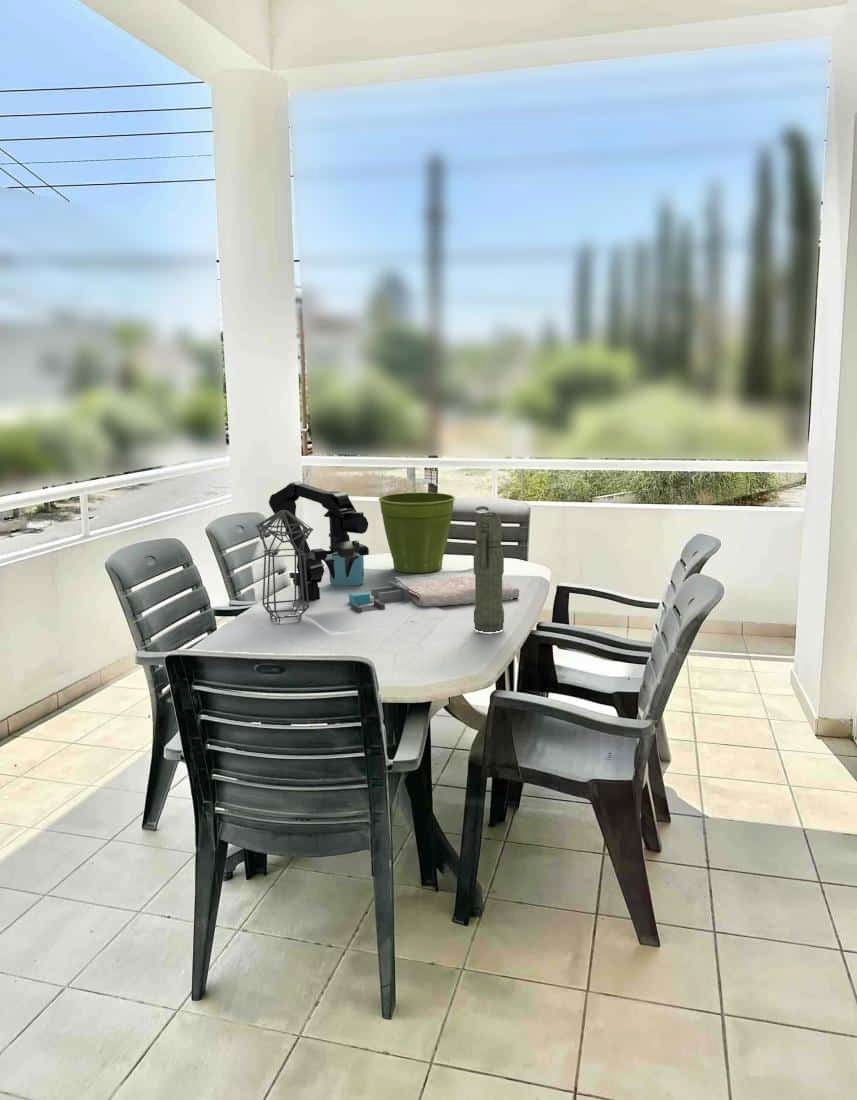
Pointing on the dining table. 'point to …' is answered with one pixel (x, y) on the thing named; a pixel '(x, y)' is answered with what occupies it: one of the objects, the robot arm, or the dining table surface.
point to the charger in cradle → (368, 607)
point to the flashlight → (488, 573)
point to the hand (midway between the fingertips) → (340, 577)
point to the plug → (360, 598)
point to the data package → (354, 576)
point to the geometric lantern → (272, 519)
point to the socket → (391, 593)
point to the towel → (447, 588)
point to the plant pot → (417, 529)
